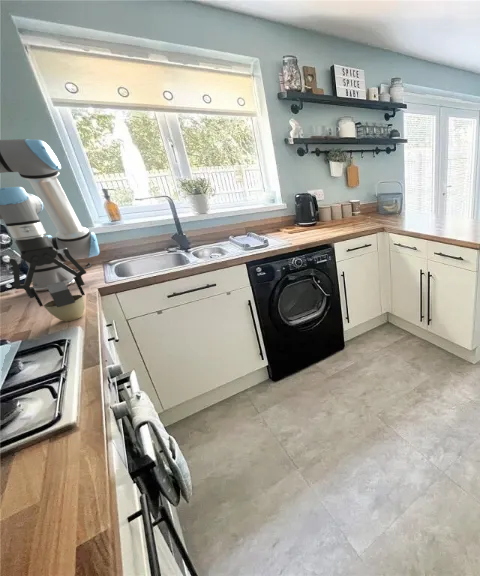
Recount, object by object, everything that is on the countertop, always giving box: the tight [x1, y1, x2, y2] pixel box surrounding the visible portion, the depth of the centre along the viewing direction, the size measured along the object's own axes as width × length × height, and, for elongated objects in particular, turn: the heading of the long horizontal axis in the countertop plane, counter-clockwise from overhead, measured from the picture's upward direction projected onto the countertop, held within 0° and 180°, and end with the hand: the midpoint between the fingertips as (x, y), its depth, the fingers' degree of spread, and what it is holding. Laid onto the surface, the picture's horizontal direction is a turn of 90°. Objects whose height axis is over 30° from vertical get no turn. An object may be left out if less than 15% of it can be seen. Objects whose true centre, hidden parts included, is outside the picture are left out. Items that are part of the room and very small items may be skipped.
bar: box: [47, 282, 75, 307], centre depth 107 cm, size 14×4×5 cm, turn 50°
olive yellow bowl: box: [43, 294, 85, 323], centre depth 110 cm, size 10×10×7 cm
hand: (62, 299), depth 108 cm, fingers open, 10 cm apart
